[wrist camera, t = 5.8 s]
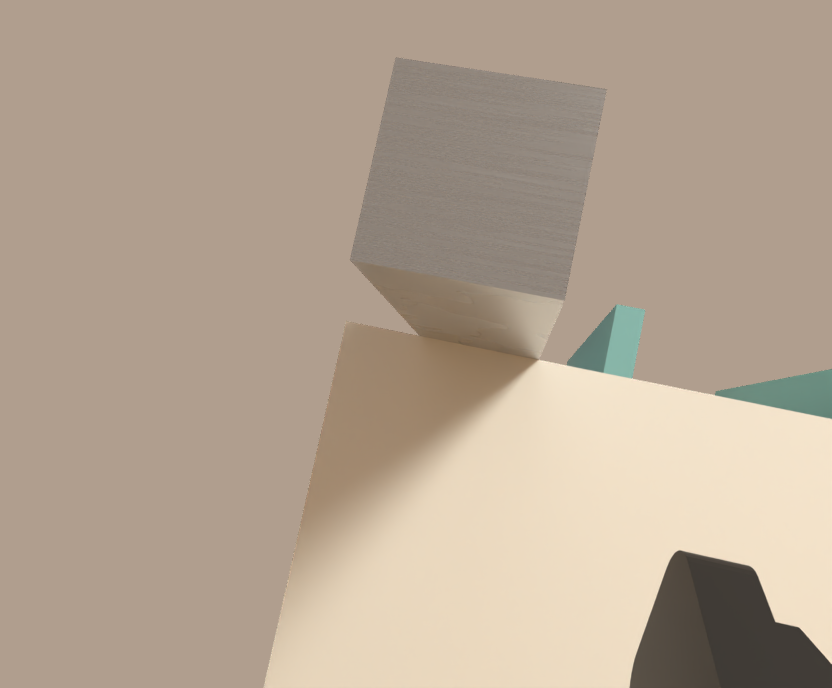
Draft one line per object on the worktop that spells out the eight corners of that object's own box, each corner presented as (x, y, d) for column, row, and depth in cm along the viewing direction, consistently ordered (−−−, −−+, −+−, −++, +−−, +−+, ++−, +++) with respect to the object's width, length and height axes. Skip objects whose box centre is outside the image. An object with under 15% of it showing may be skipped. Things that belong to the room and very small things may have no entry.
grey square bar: (564, 300, 12) (606, 89, 12) (349, 259, 12) (395, 58, 13) (524, 391, 40) (537, 326, 40) (458, 378, 40) (472, 313, 40)
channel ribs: (915, 435, 20) (926, 362, 21) (603, 373, 22) (617, 304, 22) (725, 433, 38) (732, 394, 38) (559, 399, 39) (567, 361, 39)
